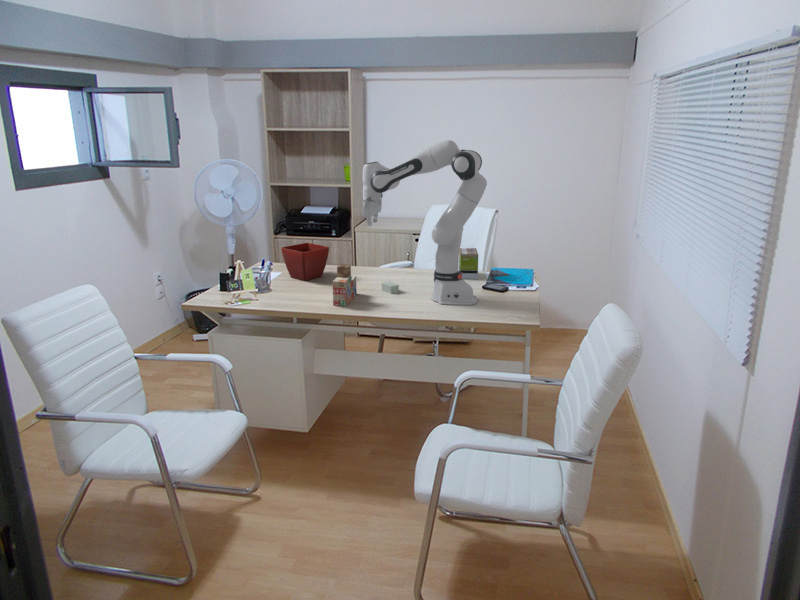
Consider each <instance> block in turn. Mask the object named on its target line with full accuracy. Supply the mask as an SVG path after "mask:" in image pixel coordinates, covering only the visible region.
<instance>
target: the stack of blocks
mask: <svg viewBox="0 0 800 600" xmlns="http://www.w3.org/2000/svg"><path fill="white" fill-rule="evenodd" d="M356 295H357V276H356V275H352V274H351V275H350V276H349V277H348V278H344V277H336V278H334V279H333V280H332V305H333V307H334V306H335V307H347V306H349V304H350V302H351V301H352V299H354V297H355V296H356Z"/></svg>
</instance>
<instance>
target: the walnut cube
mask: <svg viewBox="0 0 800 600" xmlns="http://www.w3.org/2000/svg"><path fill="white" fill-rule="evenodd" d="M351 265H352V264H339V265H338V266H336V274H337V277H344V278H348V277H349V276H350V275H351V276H352V272H351V271H352V267H351ZM337 277H336V278H337Z"/></svg>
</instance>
